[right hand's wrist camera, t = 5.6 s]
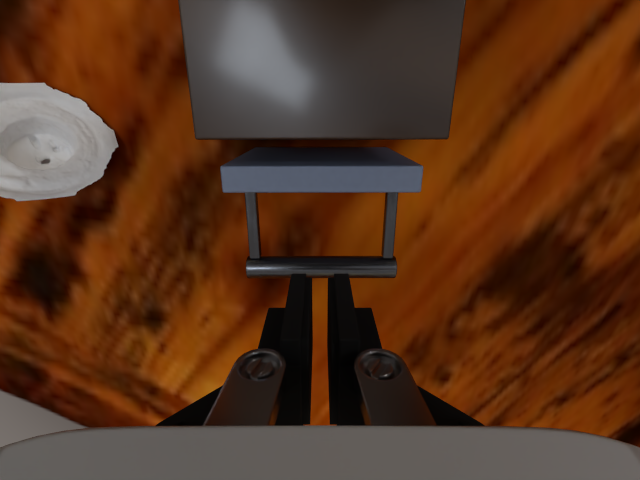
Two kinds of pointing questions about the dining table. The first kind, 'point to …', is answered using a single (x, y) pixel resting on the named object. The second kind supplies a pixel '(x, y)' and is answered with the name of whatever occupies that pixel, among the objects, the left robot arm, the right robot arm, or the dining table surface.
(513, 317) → the dining table surface
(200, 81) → the cabinet
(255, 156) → the drawer
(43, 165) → the seashell
